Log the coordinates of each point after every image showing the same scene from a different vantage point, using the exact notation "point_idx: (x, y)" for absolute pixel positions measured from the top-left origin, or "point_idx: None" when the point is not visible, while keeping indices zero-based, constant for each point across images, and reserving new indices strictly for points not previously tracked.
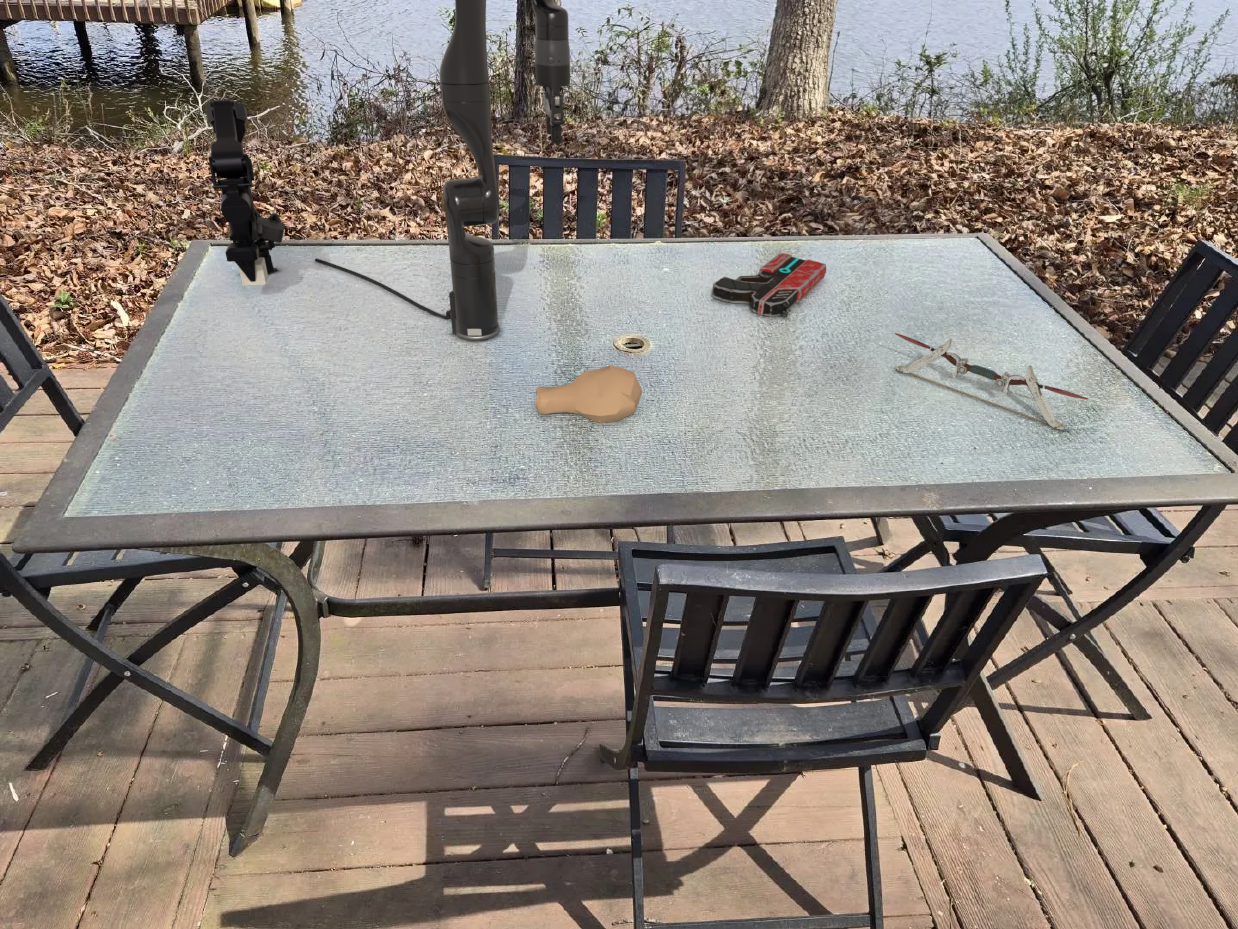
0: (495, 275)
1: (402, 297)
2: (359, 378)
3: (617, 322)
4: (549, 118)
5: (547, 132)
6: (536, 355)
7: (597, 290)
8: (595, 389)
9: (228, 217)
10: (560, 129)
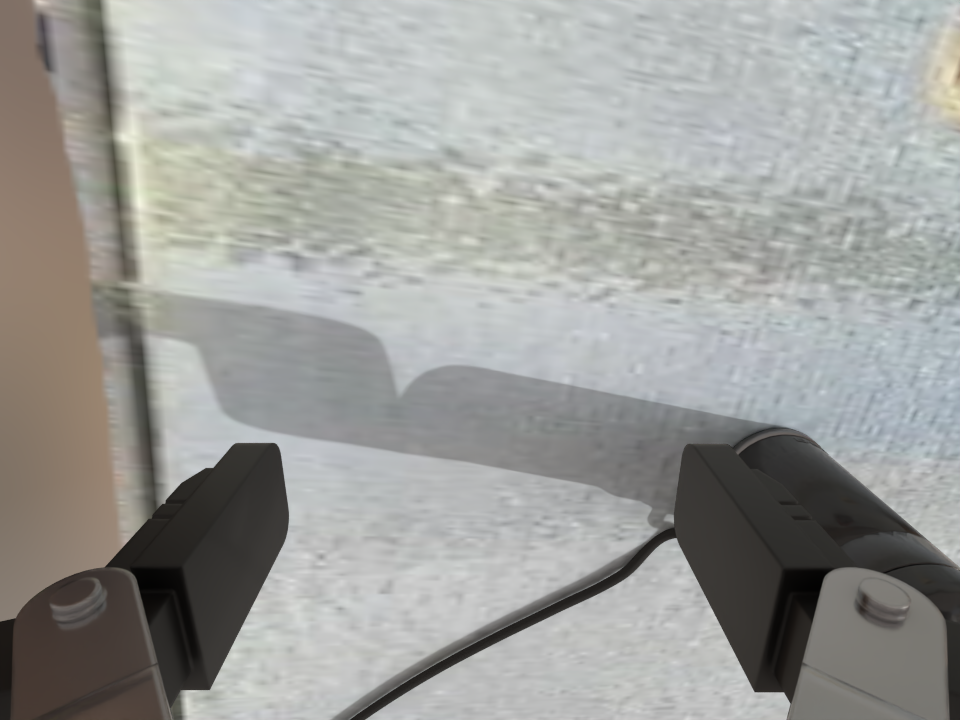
0: (883, 519)
1: (543, 619)
2: None
3: (835, 88)
4: (207, 643)
5: (283, 537)
6: (947, 353)
7: (569, 108)
8: None
9: None
10: (808, 546)
